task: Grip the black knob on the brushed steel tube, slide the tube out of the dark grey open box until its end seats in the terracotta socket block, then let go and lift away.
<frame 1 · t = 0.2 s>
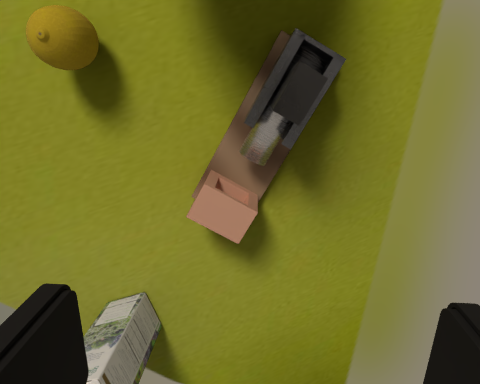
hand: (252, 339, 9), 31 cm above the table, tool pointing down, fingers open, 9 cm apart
base board: (261, 134, 39), on the table
syrup box: (135, 311, 47), on the table
dark grey open box: (287, 89, 37), resting on base board
socket block: (227, 194, 41), resting on base board
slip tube: (282, 111, 31), point 7 cm above the table, slide at 0.0 cm
lemon: (85, 43, 37), on the table
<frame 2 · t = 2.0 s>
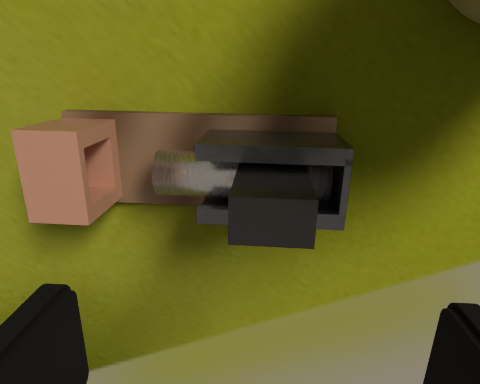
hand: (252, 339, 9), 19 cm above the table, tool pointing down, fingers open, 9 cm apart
base board: (199, 158, 27), on the table
dark grey open box: (270, 161, 27), resting on base board
socket block: (99, 155, 28), resting on base board
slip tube: (238, 189, 20), point 7 cm above the table, slide at 0.0 cm
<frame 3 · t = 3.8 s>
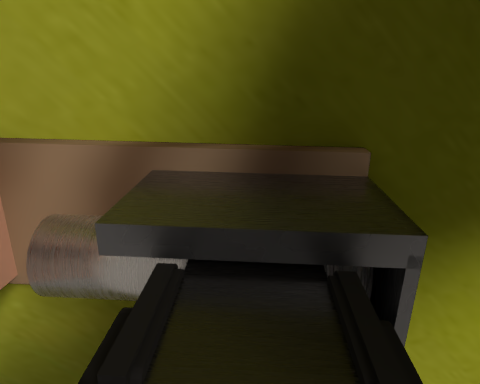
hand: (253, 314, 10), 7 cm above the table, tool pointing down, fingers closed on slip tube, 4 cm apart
base board: (141, 214, 17), on the table
dark grey open box: (256, 218, 16), resting on base board
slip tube: (186, 315, 10), point 7 cm above the table, slide at 0.0 cm, touching gripper
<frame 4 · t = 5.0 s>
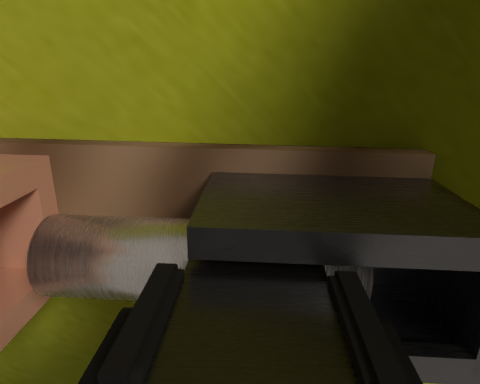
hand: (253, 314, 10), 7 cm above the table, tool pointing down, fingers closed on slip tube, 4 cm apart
base board: (194, 216, 17), on the table
dark grey open box: (311, 220, 16), resting on base board
socket block: (30, 210, 17), resting on base board
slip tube: (186, 315, 10), point 7 cm above the table, slide at 2.6 cm, touching gripper
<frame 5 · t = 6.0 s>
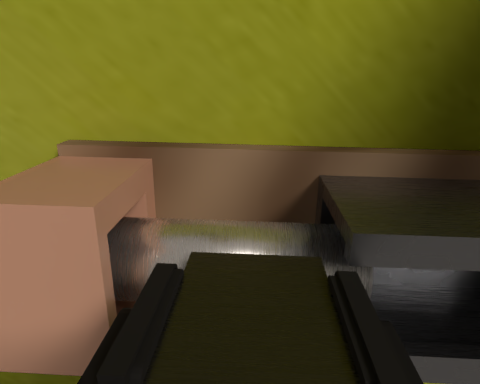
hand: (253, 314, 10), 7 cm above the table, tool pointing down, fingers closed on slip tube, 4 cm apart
base board: (289, 219, 16), on the table
dark grey open box: (409, 224, 16), resting on base board
socket block: (120, 214, 17), resting on base board
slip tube: (186, 315, 10), point 7 cm above the table, slide at 7.1 cm, touching gripper
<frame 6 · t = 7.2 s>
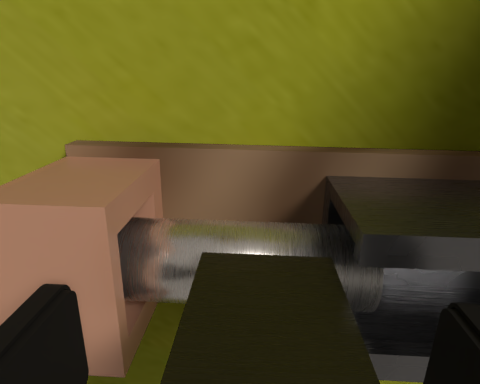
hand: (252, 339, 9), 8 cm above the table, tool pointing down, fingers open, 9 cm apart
base board: (295, 220, 16), on the table
dark grey open box: (415, 224, 16), resting on base board
socket block: (127, 214, 17), resting on base board
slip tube: (198, 315, 10), point 7 cm above the table, slide at 7.0 cm
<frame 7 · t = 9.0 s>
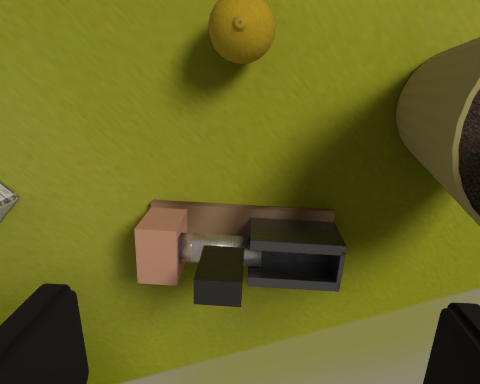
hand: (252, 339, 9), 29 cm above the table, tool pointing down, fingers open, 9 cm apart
base board: (241, 233, 40), on the table
potted cactus: (453, 108, 35), on the table
dark grey open box: (289, 236, 40), resting on base board
socket block: (171, 229, 40), resting on base board
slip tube: (202, 263, 33), point 7 cm above the table, slide at 7.0 cm
lemon: (243, 33, 33), on the table
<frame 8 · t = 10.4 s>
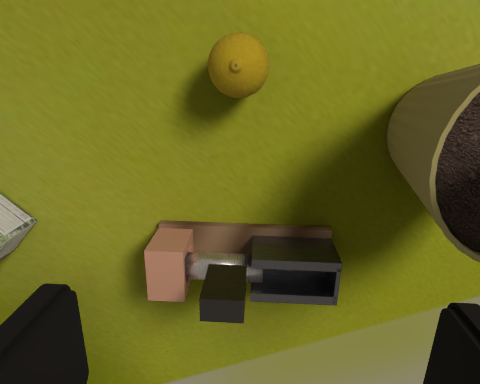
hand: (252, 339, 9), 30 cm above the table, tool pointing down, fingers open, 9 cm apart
base board: (244, 250, 42), on the table
potted cactus: (441, 130, 37), on the table
syrup box: (8, 219, 43), on the table
dark grey open box: (289, 251, 42), resting on base board
socket block: (178, 247, 43), resting on base board
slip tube: (207, 281, 36), point 7 cm above the table, slide at 7.0 cm
lemon: (240, 66, 36), on the table
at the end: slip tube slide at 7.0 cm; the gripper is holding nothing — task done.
